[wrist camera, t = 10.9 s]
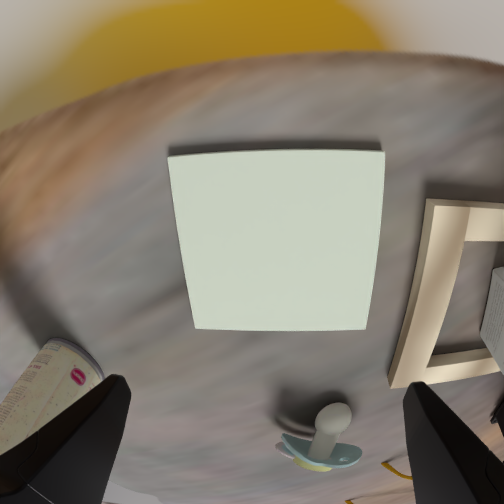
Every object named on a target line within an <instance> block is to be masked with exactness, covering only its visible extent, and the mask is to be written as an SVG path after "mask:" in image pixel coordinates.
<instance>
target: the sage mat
mask: <svg viewBox="0 0 504 504" xmlns="http://www.w3.org/2000/svg"><path fill="white" fill-rule="evenodd" d="M168 165H169V173H170V181H171V189H172V196H173V203H174V210H175V217H176V223H177V230H178V236H179V242H180V248H181V254H182V260H183V266H184V272H185V277H186V283H187V288H188V293H189V299H190V304H191V309H192V314H193V319H194V324H195V328H197V329H219V330H252V331H328V330H361V329H366V324H367V318H368V313H369V307H370V301H371V295H372V289H373V282H374V275H375V268H376V260H377V252H378V244H379V235H380V225H381V214H382V202H383V187H384V170H385V152H384V151H379V150H355V149H266V150H241V151H224V152H209V153H196V154H184V155H174V156H169V157H168Z"/></svg>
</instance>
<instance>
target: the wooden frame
mask: <svg viewBox="0 0 504 504" xmlns="http://www.w3.org/2000/svg"><path fill="white" fill-rule="evenodd" d="M464 241H504V203H491V202H478V201H463V200H446V199H426V205H425V213H424V221H423V228H422V234H421V241H420V247H419V253H418V258H417V264H416V269H415V274H414V279H413V284H412V288H411V293H410V297H409V302H408V306H407V310H406V314H405V318H404V322H403V326H402V330H401V333H400V337H399V341H398V344H397V348H396V351H395V354H394V358H393V361H392V364H391V367H390V371H389V374H388V377H387V378H388V382H389V386H390V389H393V388H402V387H409V385H410V383H411V382H417V381H423V382H425V383H426V384H434V383H440V382H447V381H453V380H458V379H464V378H469V377H475V376H480V375H484V374H489V373H494V372H498V371H501V370H500V368H499V367H498V365H497V363H496V361H495V360H494V358H493V356H492V355H491V353H490V351H489V350H488V348H482V349H476V350H470V351H463V352H456V353H449V354H441V355H433V356H431V354H432V351H433V349H434V346H435V343H436V341H437V338H438V335H439V332H440V329H441V326H442V323H443V320H444V317H445V314H446V311H447V307H448V304H449V301H450V297H451V294H452V290H453V287H454V283H455V279H456V275H457V271H458V267H459V263H460V259H461V255H462V250H463V246H464Z"/></svg>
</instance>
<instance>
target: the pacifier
mask: <svg viewBox="0 0 504 504" xmlns="http://www.w3.org/2000/svg"><path fill="white" fill-rule="evenodd" d="M351 417H352V414H351V410H350V408H349V407H348V406H347V405H346V404H344V403H333V404H330V405H328V406H326V407H325V408H323V409H322V410H321V411H320V412H319V413H318V415H317V417H316V419H315V428H316V430H317V431H316V433H315V435H314V438H313V440H312V441H308V440H304V439H300V438H296V437H293V436H291V435H288V434H285V433H283V434H282V436H281V438H282V440H283V442H279V443H277V444H276V445H275V446H276V449H277V450H278V451H279V452H280V453H282V454H283V455H285V456H287V457H289V458H292V459H293V461H294V462H295V463H296V464H297V465H299V466H301V467H303V468H305V469H309V470H314V471H329V470H331V469H332V468H344V467H348V466H351V465H353V464H355V463H356V462H357V461H358V460H359V459H360V457H361V455H362V450H361V449H360V448H359V447H357V446H354V445H349V444H341V443H336V442H337V440H338V437H339V435H340V433H342V432H343V431H345V430H346V428H347V427H348V426H349V424H350V422H351ZM342 460H348V461H342Z"/></svg>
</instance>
